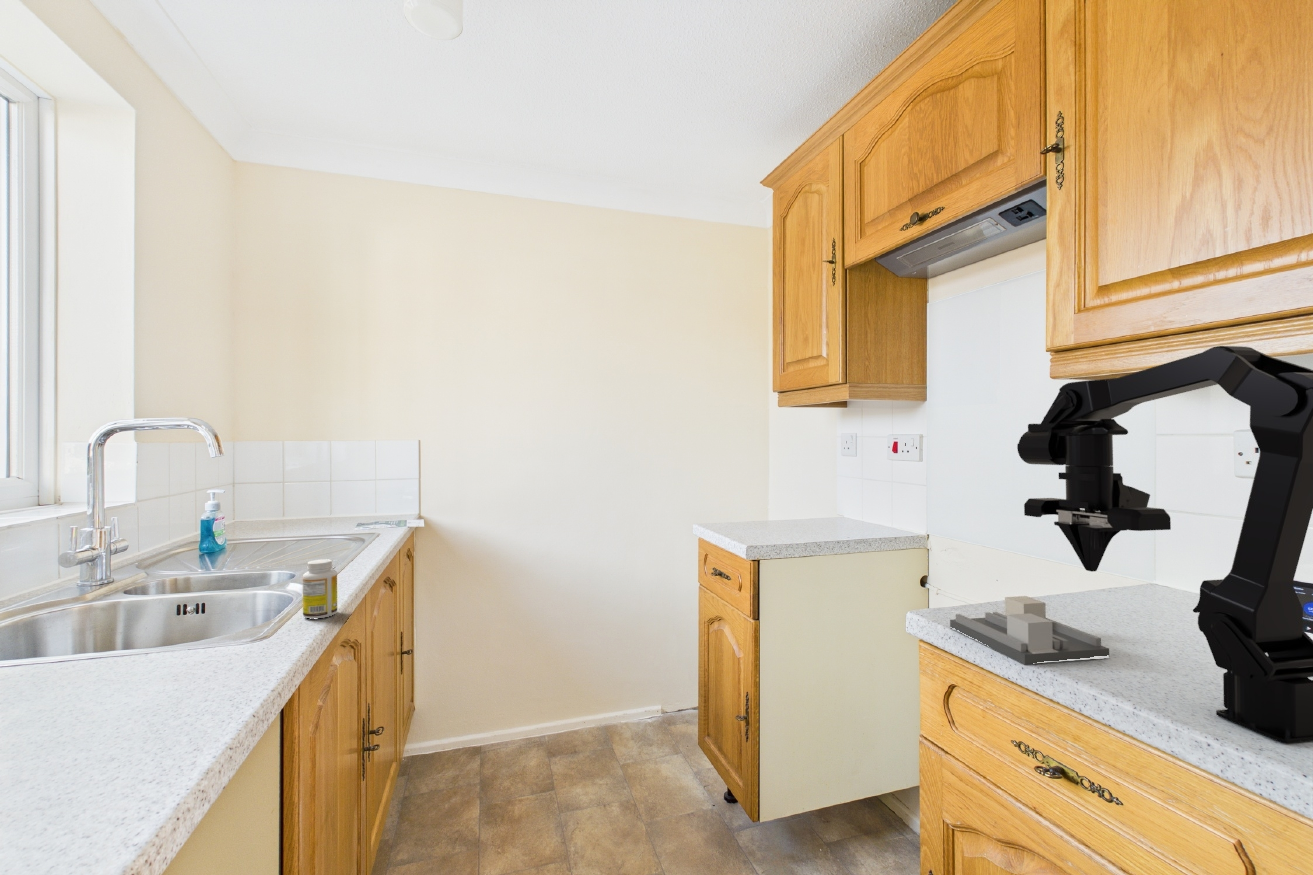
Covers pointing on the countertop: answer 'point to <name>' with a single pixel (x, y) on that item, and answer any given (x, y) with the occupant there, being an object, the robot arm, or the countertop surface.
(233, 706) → the countertop surface
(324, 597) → the supplement bottle
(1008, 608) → the beige cube
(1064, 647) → the switch board
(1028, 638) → the light grey cube
